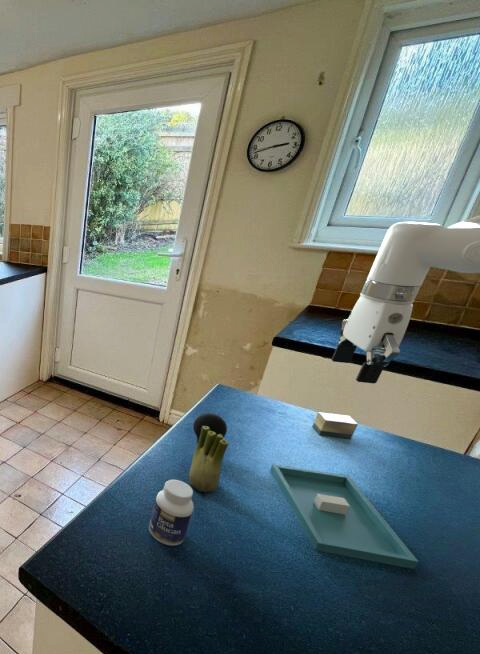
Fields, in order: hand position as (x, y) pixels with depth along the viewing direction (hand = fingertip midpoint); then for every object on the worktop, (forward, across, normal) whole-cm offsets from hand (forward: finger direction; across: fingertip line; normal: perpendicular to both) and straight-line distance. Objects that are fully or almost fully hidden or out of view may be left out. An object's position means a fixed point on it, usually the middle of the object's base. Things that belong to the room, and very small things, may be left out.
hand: (352, 371), depth 86 cm
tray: (+16, -28, +10) cm, 34 cm away
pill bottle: (+16, -40, +38) cm, 57 cm away
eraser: (+16, +1, -2) cm, 16 cm away
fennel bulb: (+16, -26, +30) cm, 43 cm away
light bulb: (+16, -16, +28) cm, 36 cm away
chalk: (+15, -27, +10) cm, 32 cm away
